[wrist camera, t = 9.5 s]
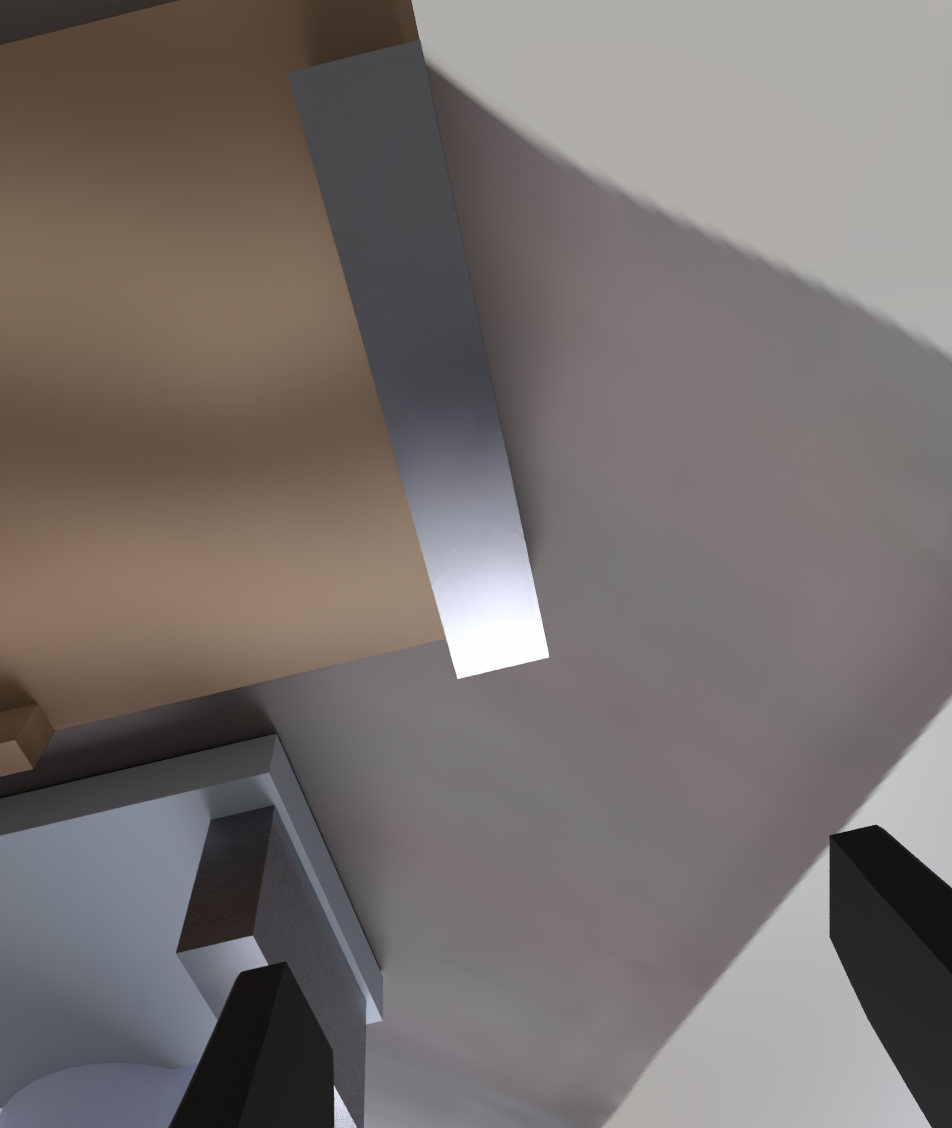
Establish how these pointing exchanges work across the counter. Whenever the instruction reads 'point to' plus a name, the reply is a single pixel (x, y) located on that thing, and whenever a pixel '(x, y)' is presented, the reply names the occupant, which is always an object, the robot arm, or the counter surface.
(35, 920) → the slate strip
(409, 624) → the wooden tray
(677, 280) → the counter surface
